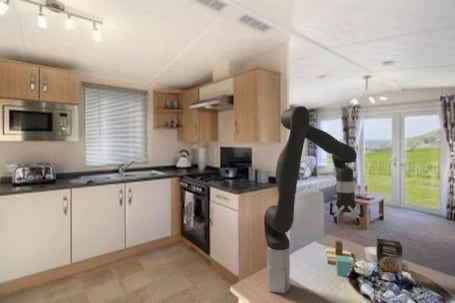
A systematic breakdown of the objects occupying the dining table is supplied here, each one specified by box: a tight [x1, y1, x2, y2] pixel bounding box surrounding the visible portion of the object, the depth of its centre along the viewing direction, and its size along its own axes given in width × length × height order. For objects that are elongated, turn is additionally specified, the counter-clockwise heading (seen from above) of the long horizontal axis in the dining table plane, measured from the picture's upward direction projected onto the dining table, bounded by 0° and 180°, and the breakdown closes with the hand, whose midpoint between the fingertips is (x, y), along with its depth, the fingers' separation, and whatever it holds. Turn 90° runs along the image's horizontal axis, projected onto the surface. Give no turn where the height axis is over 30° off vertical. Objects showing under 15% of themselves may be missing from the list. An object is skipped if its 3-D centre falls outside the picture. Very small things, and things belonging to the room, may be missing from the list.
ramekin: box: [364, 246, 376, 263], centre depth 119 cm, size 11×11×5 cm
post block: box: [324, 239, 355, 266], centre depth 123 cm, size 16×12×8 cm
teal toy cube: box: [335, 255, 352, 277], centre depth 108 cm, size 5×5×7 cm
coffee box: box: [375, 237, 403, 276], centre depth 104 cm, size 9×6×16 cm
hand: (346, 224), depth 111 cm, fingers open, 8 cm apart
